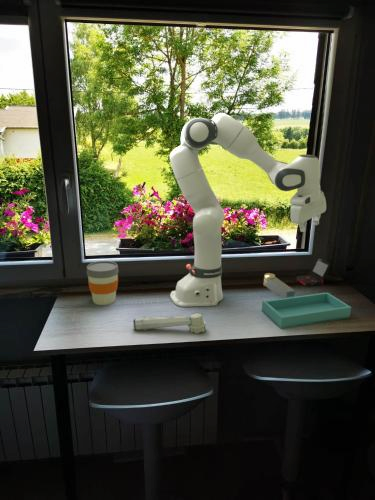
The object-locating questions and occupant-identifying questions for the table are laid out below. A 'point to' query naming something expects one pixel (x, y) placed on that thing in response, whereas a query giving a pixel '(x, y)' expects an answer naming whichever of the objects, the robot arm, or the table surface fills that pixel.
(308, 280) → the handheld gaming console
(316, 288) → the table surface
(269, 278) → the strut
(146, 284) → the table surface
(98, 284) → the reusable coffee cup
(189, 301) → the robot arm
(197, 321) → the white flashlight
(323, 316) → the bin
